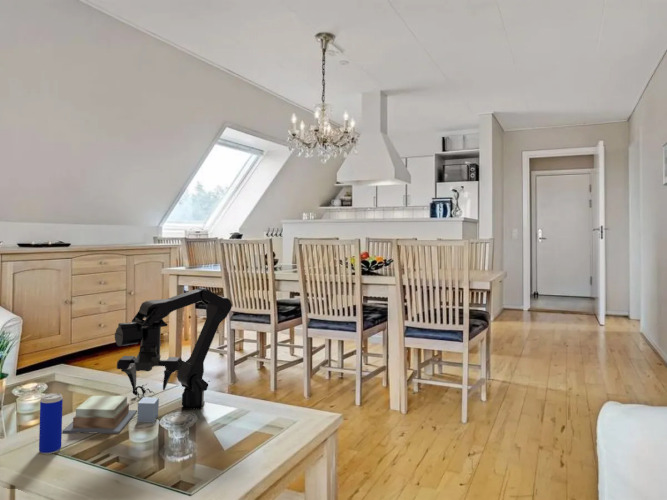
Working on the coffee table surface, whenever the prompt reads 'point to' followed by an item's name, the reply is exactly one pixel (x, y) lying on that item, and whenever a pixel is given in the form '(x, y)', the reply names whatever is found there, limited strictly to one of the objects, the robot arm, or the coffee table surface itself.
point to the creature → (141, 389)
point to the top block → (147, 409)
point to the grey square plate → (102, 430)
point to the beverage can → (50, 423)
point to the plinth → (100, 420)
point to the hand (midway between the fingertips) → (149, 389)
